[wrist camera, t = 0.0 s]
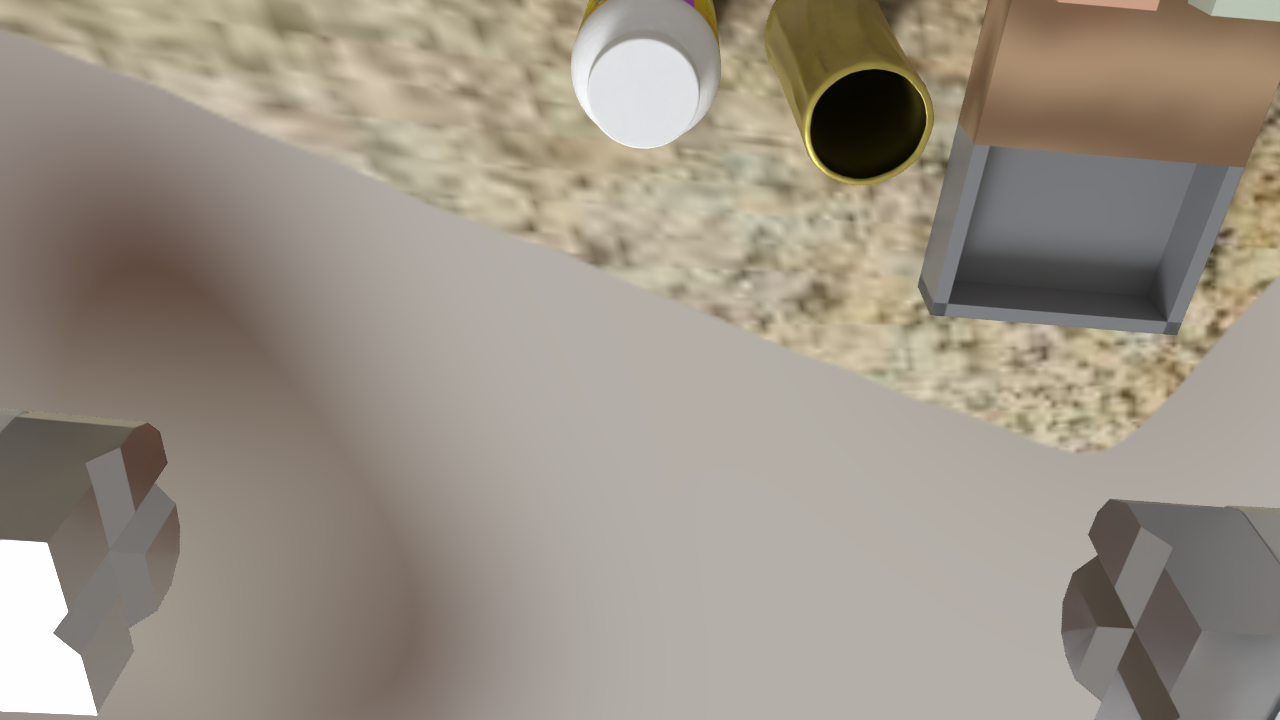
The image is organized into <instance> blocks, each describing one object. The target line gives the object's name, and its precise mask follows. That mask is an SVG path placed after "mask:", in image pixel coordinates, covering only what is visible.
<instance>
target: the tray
mask: <svg viewBox="0 0 1280 720" xmlns="http://www.w3.org/2000/svg"><path fill="white" fill-rule="evenodd" d="M1243 171H1244V168H1243V167H1231V166H1219V165H1208V164H1196V163H1184V162H1173V161H1161V160H1149V159H1137V158H1126V157H1114V156H1102V155H1091V154H1079V153H1067V152H1056V151H1044V150H1032V149H1020V148H1009V147H997V146H985V145H974V143H973V142H972V140H971V139H970V138H969V136H968V135H967V133H966V132H965V131H964V129H963V128H962V126H961V125H960V123H959V122H958V125H957V129H956V133H955V138H954V142H953V146H952V150H951V154H950V158H949V162H948V166H947V170H946V174H945V178H944V182H943V186H942V190H941V194H940V198H939V202H938V206H937V210H936V214H935V218H934V223H933V227H932V231H931V235H930V239H929V243H928V247H927V251H926V255H925V259H924V263H923V267H922V271H921V275H920V279H919V283H918V288H919V290H920V292H921V295H922V297H923V299H924V302H925V304H926V306H927V309H928V311H929V313H930V315H935V316H947V317H960V318H972V319H984V320H996V321H1008V322H1021V323H1033V324H1045V325H1057V326H1069V327H1081V328H1094V329H1106V330H1118V331H1130V332H1142V333H1155V334H1167V335H1177V333H1178V331H1179V328H1180V326H1181V323H1182V321H1183V318H1184V316H1185V314H1186V311H1187V309H1188V306H1189V304H1190V301H1191V299H1192V296H1193V294H1194V291H1195V289H1196V286H1197V284H1198V281H1199V279H1200V277H1201V274H1202V272H1203V269H1204V267H1205V264H1206V262H1207V259H1208V257H1209V254H1210V252H1211V249H1212V247H1213V244H1214V242H1215V240H1216V237H1217V235H1218V232H1219V230H1220V227H1221V225H1222V222H1223V220H1224V217H1225V215H1226V212H1227V210H1228V208H1229V205H1230V203H1231V200H1232V198H1233V195H1234V193H1235V190H1236V188H1237V185H1238V183H1239V180H1240V178H1241V175H1242V173H1243Z"/></svg>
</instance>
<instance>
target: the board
mask: <svg viewBox="0 0 1280 720" xmlns="http://www.w3.org/2000/svg"><path fill="white" fill-rule="evenodd" d="M1279 82H1280V22H1277V21H1266V20H1255V19H1244V18H1232V17H1221V16H1211V15H1209V14H1207V13H1205V12H1203V11H1202V10H1200V9H1198V8H1196V7H1194V6H1193V5H1191V4H1189V3H1188V0H1160V1H1159V4H1158V7H1157V10H1156V11H1153V10H1142V9H1130V8H1119V7H1108V6H1097V5H1085V4H1074V3H1063V2H1057V1H1056V0H988V4H987V8H986V12H985V16H984V20H983V24H982V28H981V32H980V36H979V40H978V44H977V49H976V53H975V57H974V61H973V65H972V69H971V73H970V77H969V81H968V85H967V89H966V93H965V97H964V101H963V105H962V109H961V113H960V117H959V121H958V122H959V123H960V125H961V126H962V128H963V129H964V131H965V132H966V133H967V135H968V136H969V138H970V139H971V140H972V142H973V143H974V145H985V146H997V147H1009V148H1020V149H1032V150H1044V151H1056V152H1067V153H1079V154H1091V155H1102V156H1114V157H1126V158H1137V159H1149V160H1161V161H1173V162H1184V163H1196V164H1208V165H1219V166H1231V167H1243V168H1245V166H1246V163H1247V161H1248V158H1249V156H1250V153H1251V151H1252V148H1253V146H1254V143H1255V141H1256V138H1257V136H1258V134H1259V131H1260V129H1261V126H1262V124H1263V121H1264V119H1265V116H1266V114H1267V111H1268V109H1269V106H1270V104H1271V101H1272V99H1273V97H1274V94H1275V92H1276V89H1277V87H1278V84H1279Z"/></svg>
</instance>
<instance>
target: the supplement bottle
mask: <svg viewBox="0 0 1280 720" xmlns="http://www.w3.org/2000/svg"><path fill="white" fill-rule="evenodd" d="M571 72H572V81H573V86H574V89H575V92H576V95H577V98H578V100H579V102H580V104H581V106H582V107H583V109H584V110H585V112H586V113H587V114H588V116H589V117H590V118H591V119H592V120H593V121H594V122H595V123H596V124H597V125H598V126H599V127H600V128H601V130H602V131H603V132H604V133H605V134H607V135H608V136H609V137H610V138H612V139H613V140H615V141H616V142H618V143H621V144H623V145H626V146H629V147H633V148H644V149H646V148H654V147H659V146H662V145H665V144H667V143H669V142H671V141H673V140H675V139H676V138H678V137H679V136H680V135H681V134H683V133H685V132H686V131H688V130H689V129H691V128H692V127H693V126H694V125H696V124H697V123H698V122H699V121H700V120H701V119H702V117H703V116H704V115H705V114H706V113H707V111H708V110H709V108H710V106H711V105H712V103H713V101H714V99H715V97H716V94H717V91H718V87H719V83H720V76H721V59H720V50H719V40H718V30H717V20H716V14H715V8H714V4H713V0H589V2H588V5H587V8H586V11H585V14H584V17H583V20H582V23H581V26H580V29H579V32H578V35H577V38H576V41H575V44H574V48H573V53H572V60H571Z"/></svg>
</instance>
